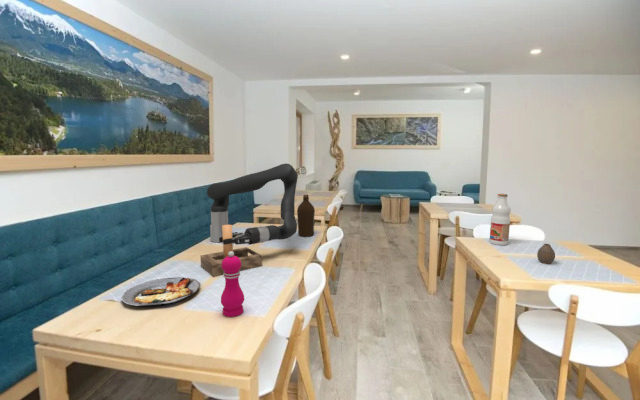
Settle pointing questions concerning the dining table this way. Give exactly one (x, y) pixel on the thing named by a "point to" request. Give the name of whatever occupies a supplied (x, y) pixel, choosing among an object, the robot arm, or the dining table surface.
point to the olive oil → (305, 218)
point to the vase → (546, 254)
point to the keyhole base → (247, 262)
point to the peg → (226, 235)
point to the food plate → (161, 291)
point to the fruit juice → (500, 221)
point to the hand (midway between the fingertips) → (221, 241)
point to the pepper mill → (232, 287)
